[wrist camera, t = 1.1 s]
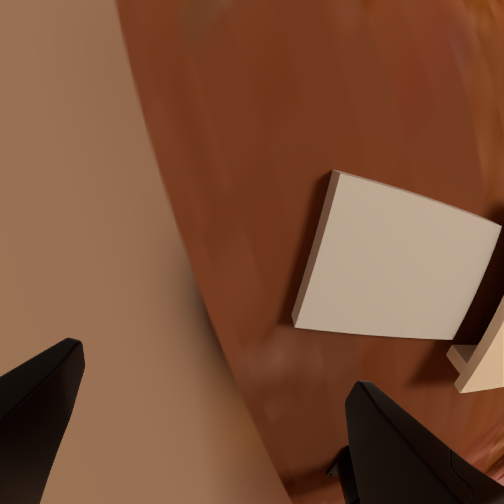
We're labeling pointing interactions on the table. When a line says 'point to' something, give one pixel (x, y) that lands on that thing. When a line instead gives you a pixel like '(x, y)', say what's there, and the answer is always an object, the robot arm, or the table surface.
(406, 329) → the pale wall plate
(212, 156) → the table surface
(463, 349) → the cream rectangular slab
